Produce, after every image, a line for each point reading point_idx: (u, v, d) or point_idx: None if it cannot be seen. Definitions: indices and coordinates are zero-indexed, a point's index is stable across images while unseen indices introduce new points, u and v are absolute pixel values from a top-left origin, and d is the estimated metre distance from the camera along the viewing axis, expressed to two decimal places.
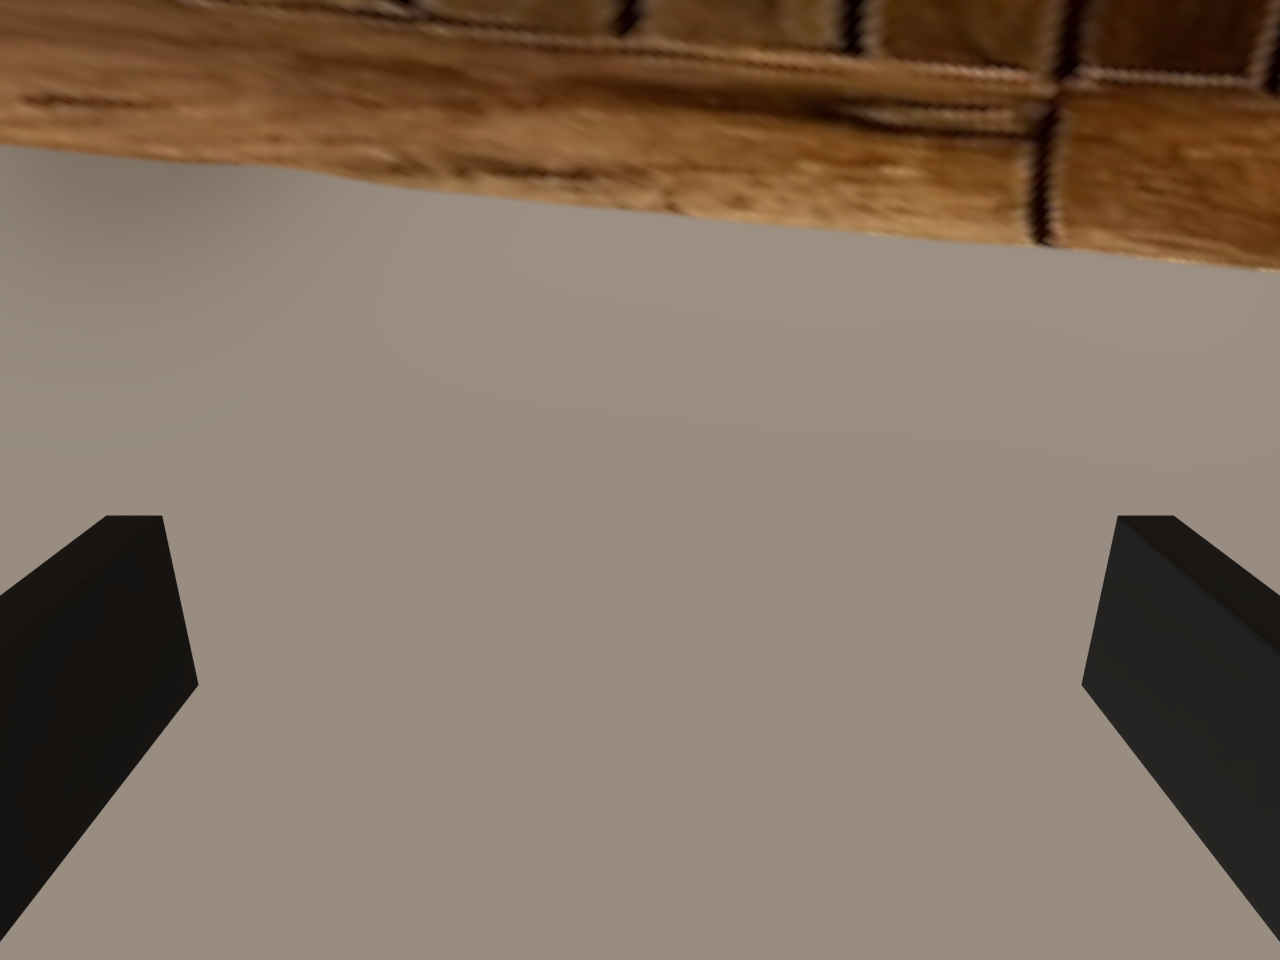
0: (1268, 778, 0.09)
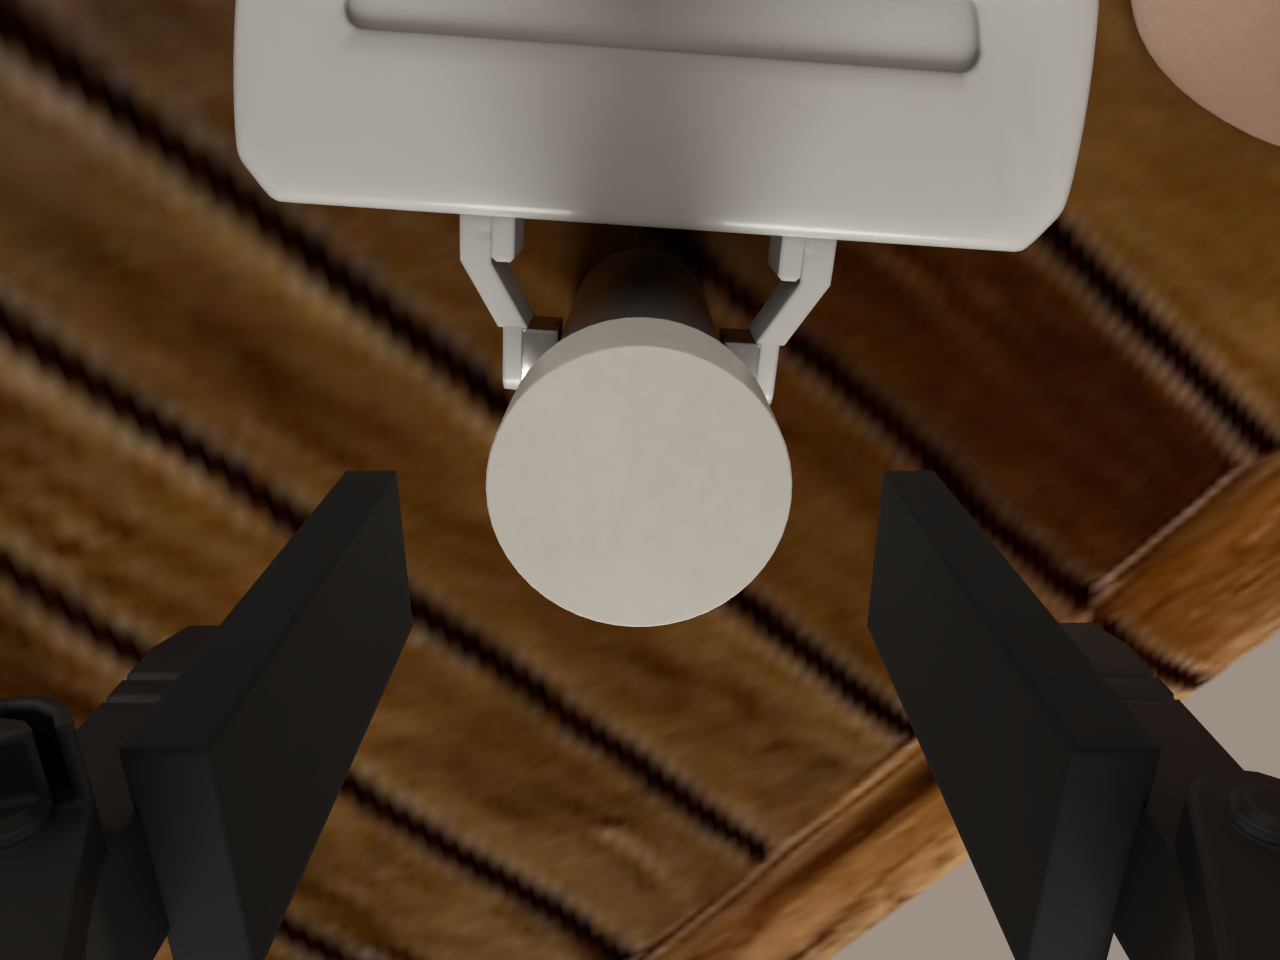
0: (949, 684, 0.11)
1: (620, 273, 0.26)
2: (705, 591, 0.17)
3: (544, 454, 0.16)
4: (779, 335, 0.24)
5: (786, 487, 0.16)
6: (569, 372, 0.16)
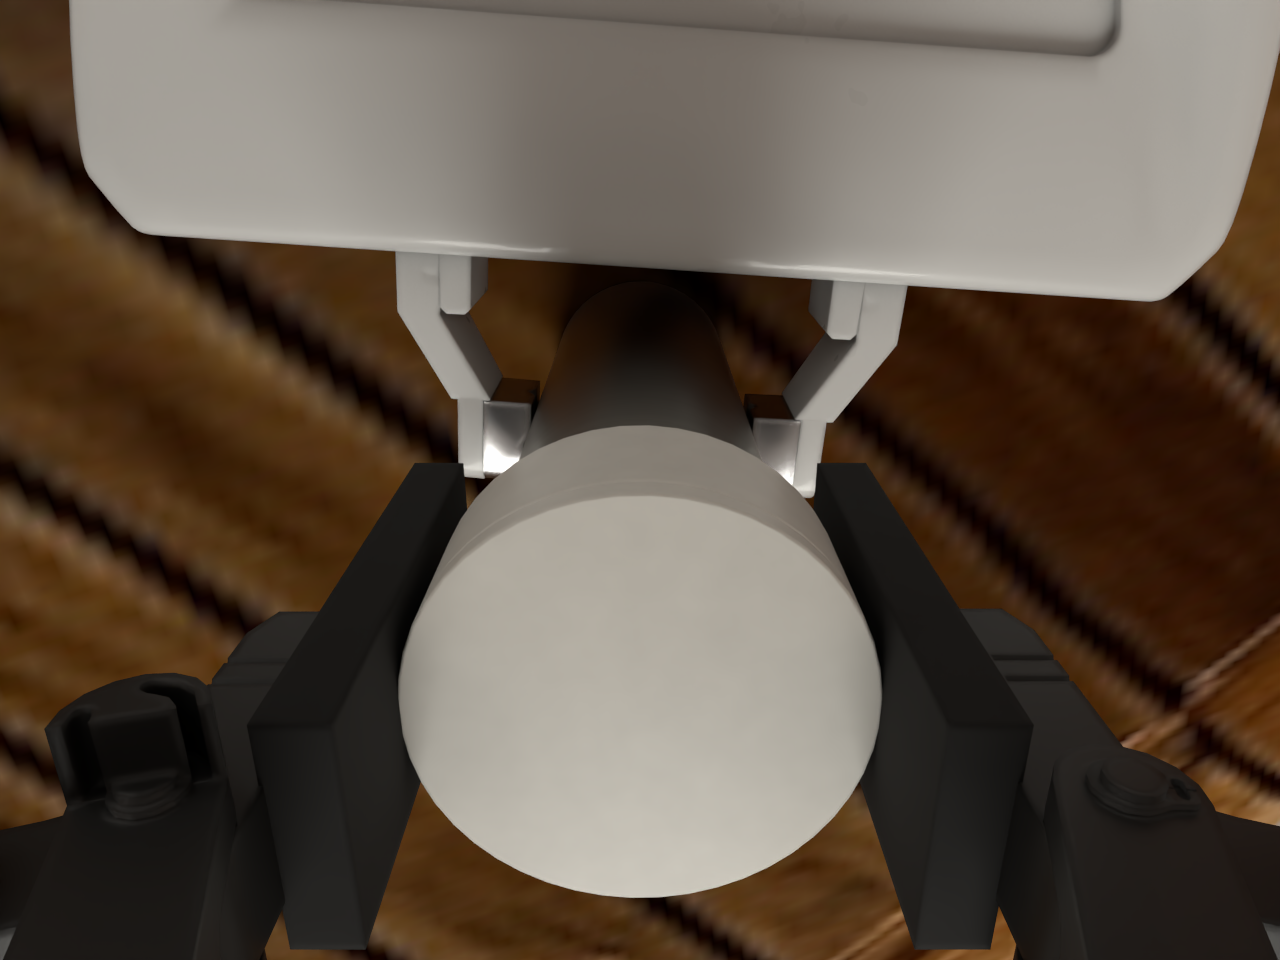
0: None
1: (614, 322, 0.20)
2: (742, 850, 0.11)
3: (489, 658, 0.10)
4: (826, 409, 0.18)
5: (873, 706, 0.10)
6: (526, 536, 0.10)
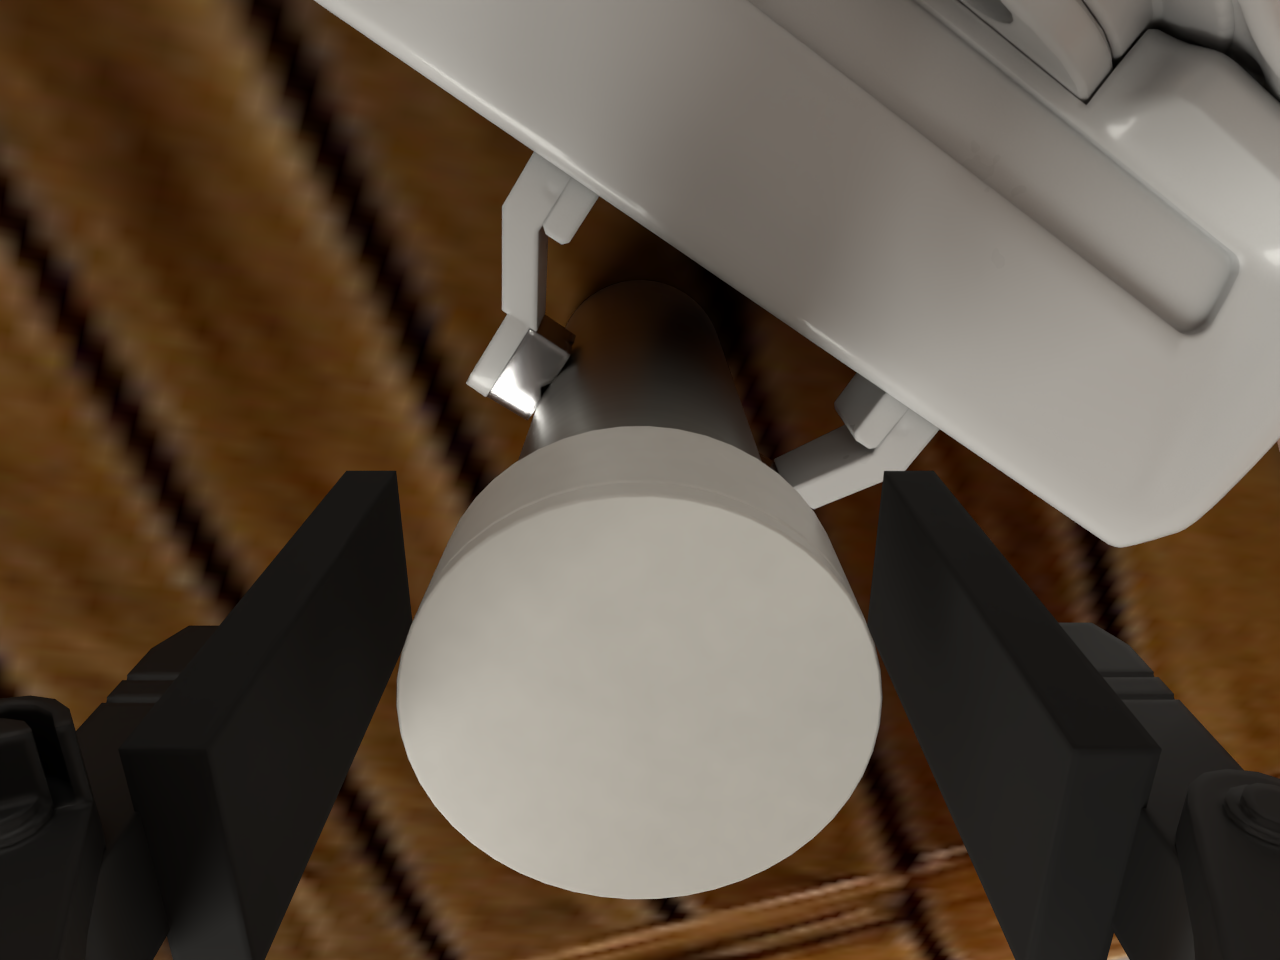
0: (949, 684, 0.11)
1: (667, 320, 0.20)
2: (845, 710, 0.10)
3: (511, 792, 0.11)
4: (815, 496, 0.19)
5: (754, 530, 0.09)
6: (413, 709, 0.10)
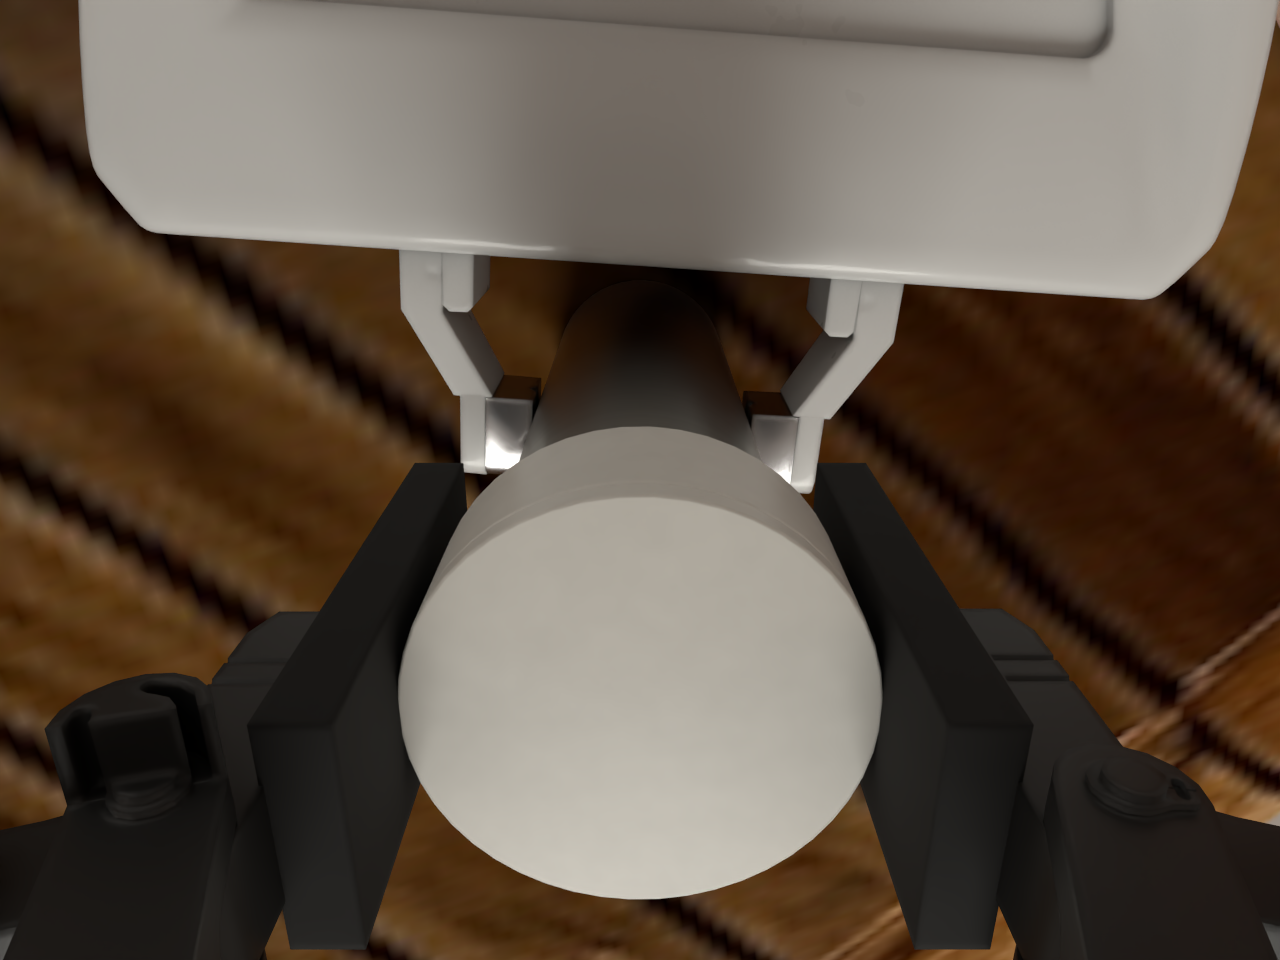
0: None
1: (615, 320, 0.20)
2: (822, 622, 0.10)
3: (574, 832, 0.11)
4: (824, 406, 0.18)
5: (627, 505, 0.09)
6: (447, 800, 0.11)
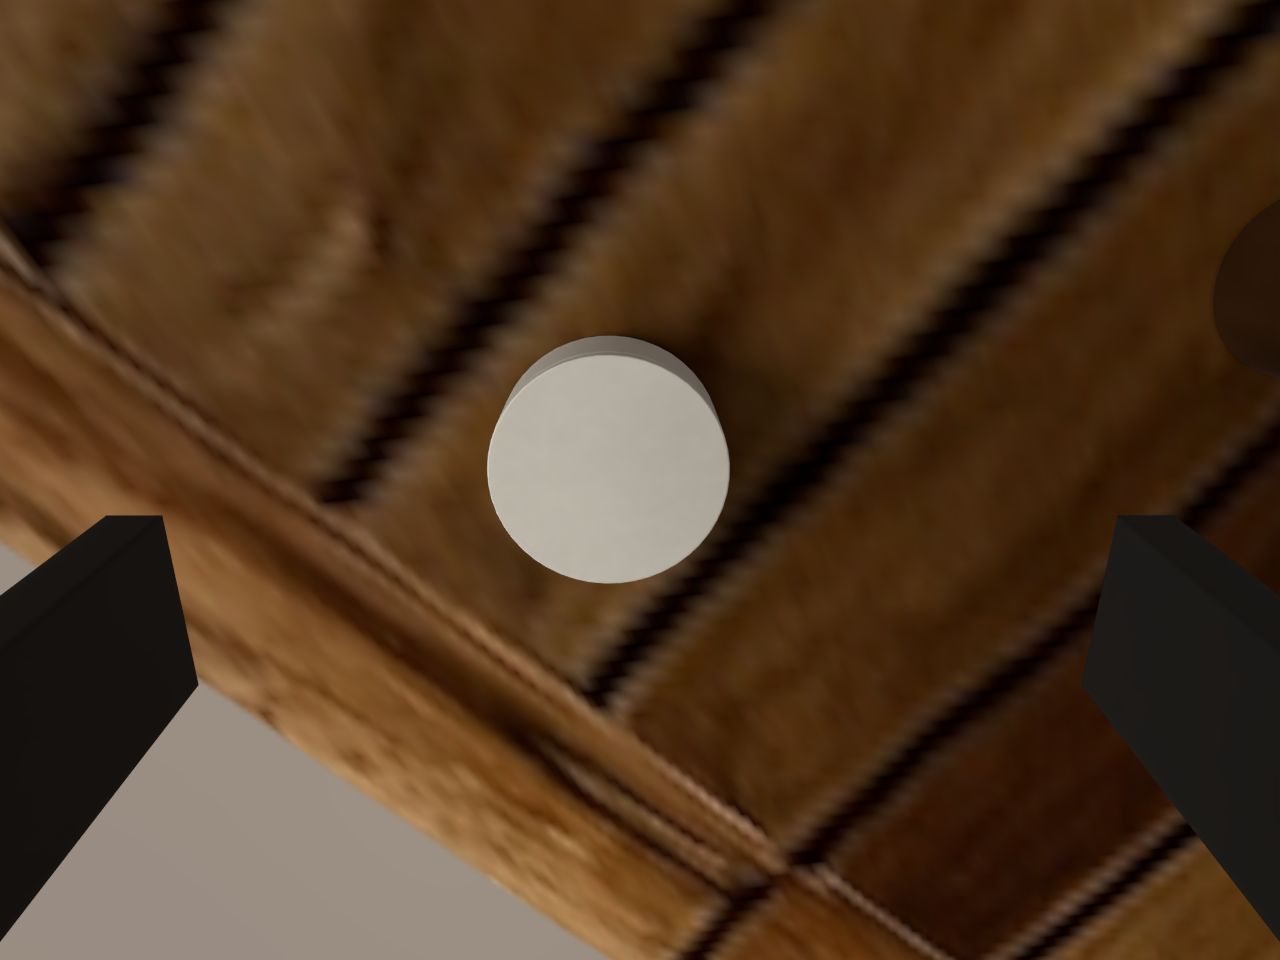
0: (1267, 778, 0.09)
1: None
2: (697, 421, 0.20)
3: (576, 542, 0.21)
4: None
5: (600, 360, 0.20)
6: (511, 523, 0.21)
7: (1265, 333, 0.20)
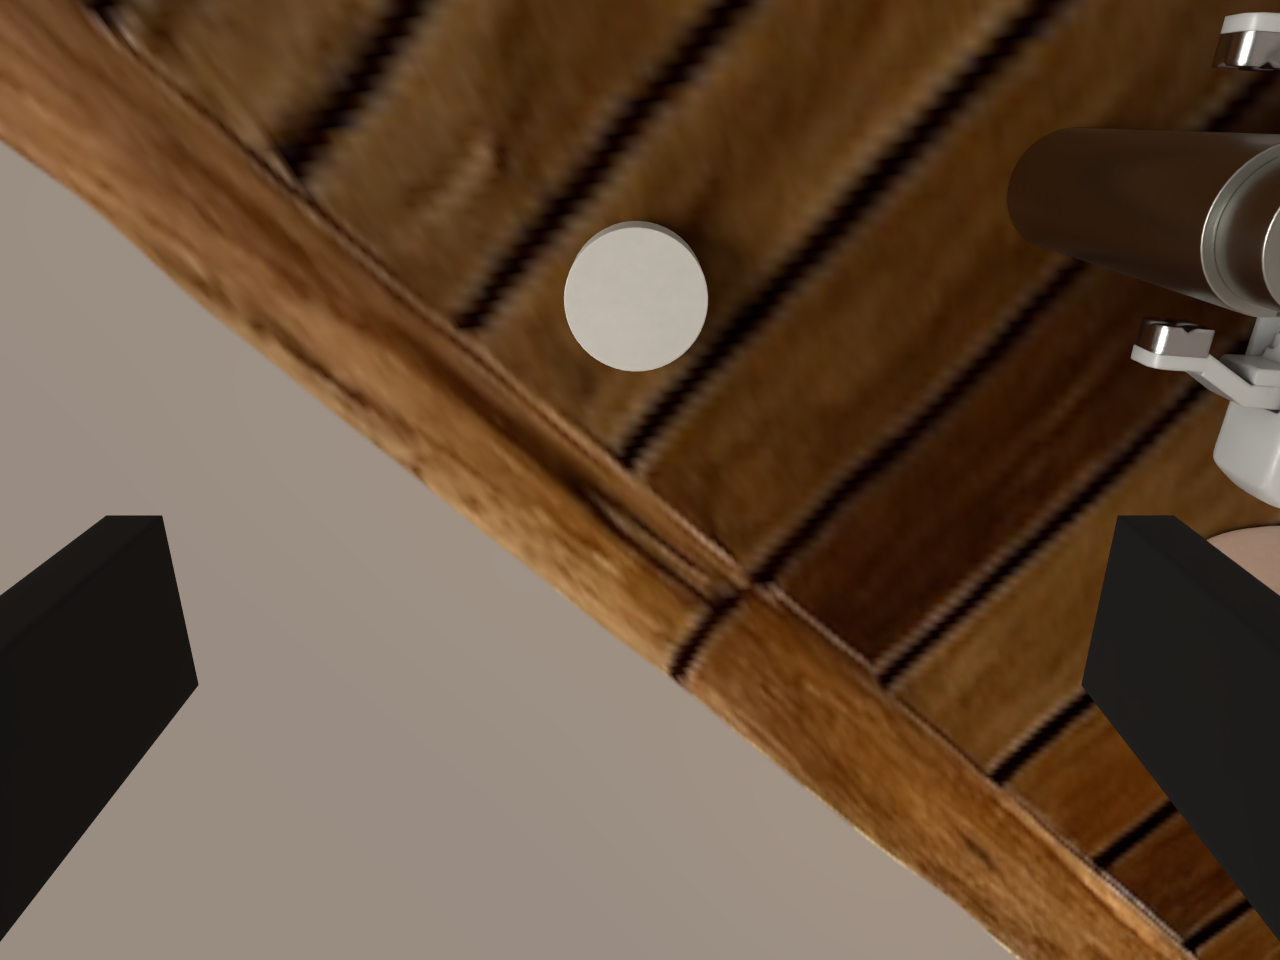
0: (1268, 779, 0.09)
1: None
2: (688, 268, 0.34)
3: (616, 344, 0.35)
4: (1211, 372, 0.31)
5: (632, 230, 0.34)
6: (577, 332, 0.35)
7: (1027, 217, 0.34)
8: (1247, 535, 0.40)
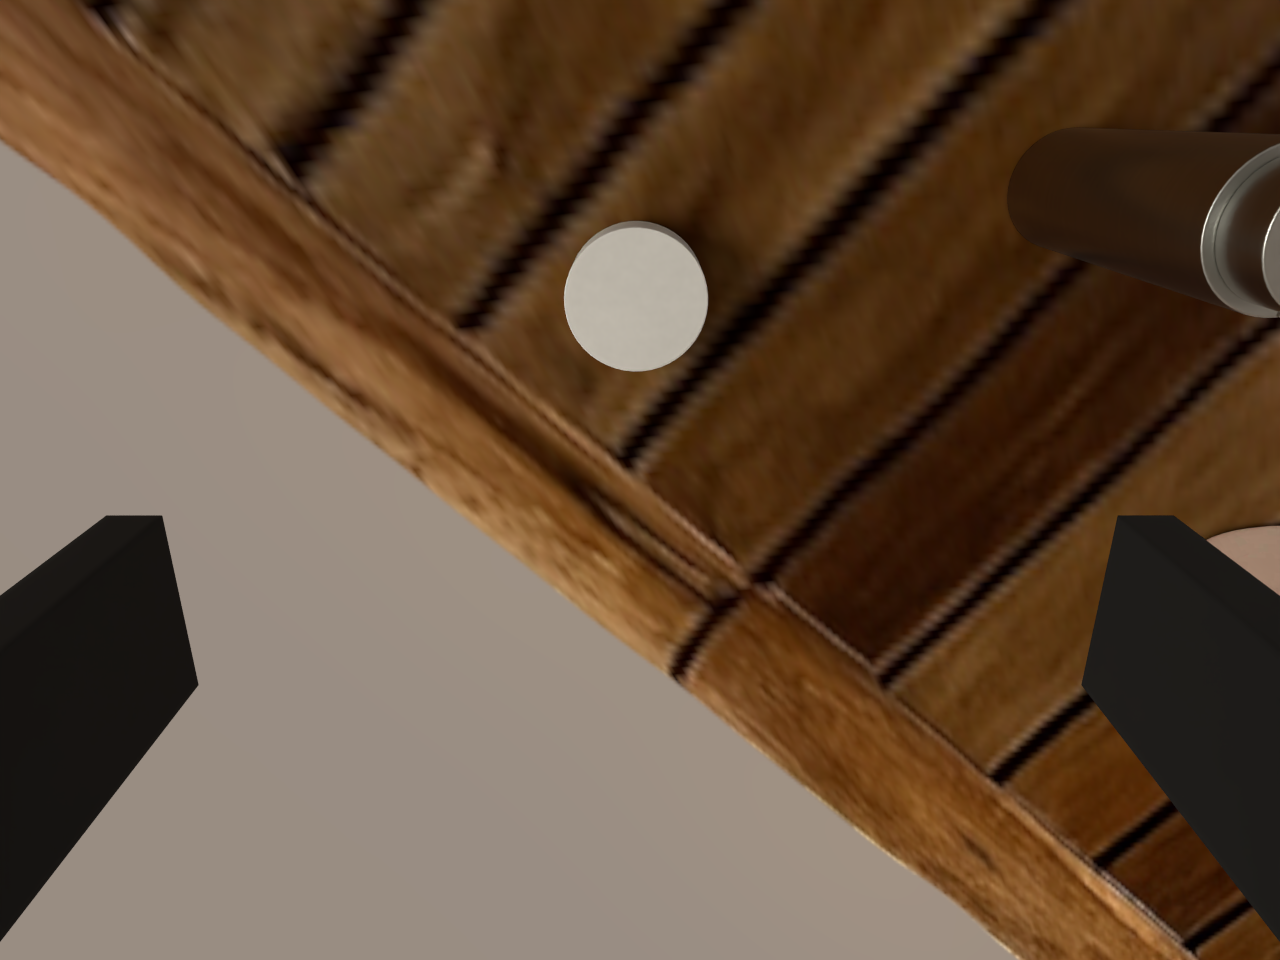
0: (1268, 779, 0.09)
1: None
2: (688, 268, 0.34)
3: (616, 344, 0.35)
4: None
5: (632, 230, 0.34)
6: (577, 332, 0.35)
7: (1027, 217, 0.34)
8: (1247, 535, 0.40)
